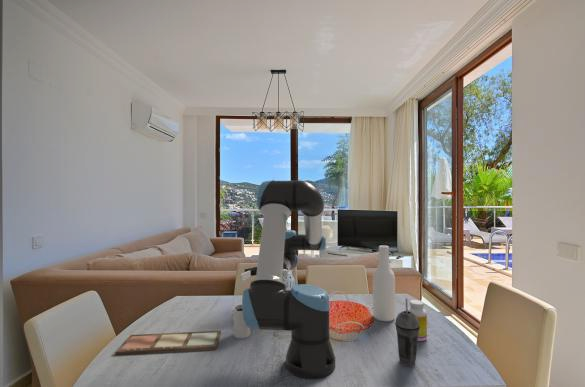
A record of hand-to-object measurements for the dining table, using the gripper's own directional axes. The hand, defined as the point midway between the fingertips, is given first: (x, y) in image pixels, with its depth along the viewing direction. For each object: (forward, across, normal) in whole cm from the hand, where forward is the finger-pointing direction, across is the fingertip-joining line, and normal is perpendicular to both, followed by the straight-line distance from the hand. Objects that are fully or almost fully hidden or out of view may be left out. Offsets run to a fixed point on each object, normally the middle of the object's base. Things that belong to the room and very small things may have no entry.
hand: (255, 279), depth 123 cm
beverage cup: (+5, -57, -18) cm, 60 cm away
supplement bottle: (-14, -59, -18) cm, 63 cm away
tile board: (+26, +19, -18) cm, 36 cm away
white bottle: (-27, -46, -18) cm, 56 cm away
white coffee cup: (+10, 0, -18) cm, 21 cm away
